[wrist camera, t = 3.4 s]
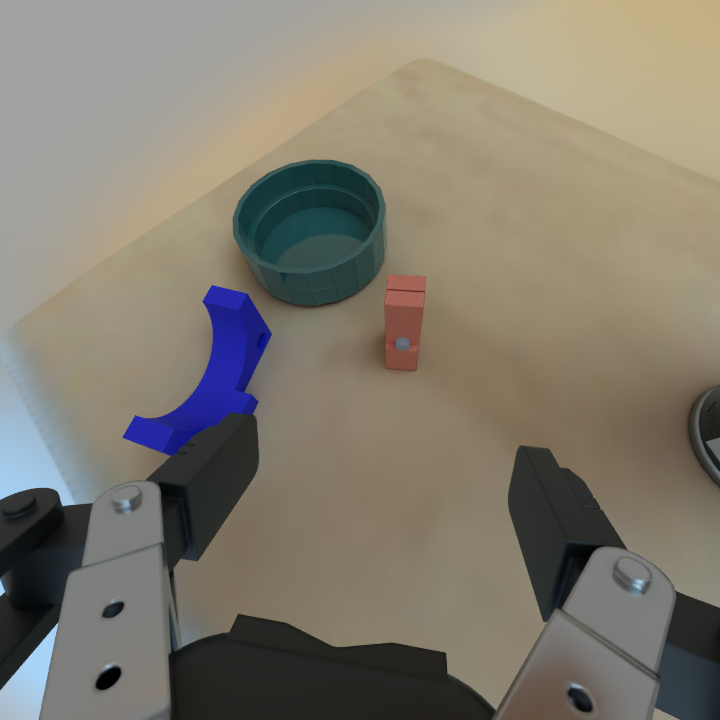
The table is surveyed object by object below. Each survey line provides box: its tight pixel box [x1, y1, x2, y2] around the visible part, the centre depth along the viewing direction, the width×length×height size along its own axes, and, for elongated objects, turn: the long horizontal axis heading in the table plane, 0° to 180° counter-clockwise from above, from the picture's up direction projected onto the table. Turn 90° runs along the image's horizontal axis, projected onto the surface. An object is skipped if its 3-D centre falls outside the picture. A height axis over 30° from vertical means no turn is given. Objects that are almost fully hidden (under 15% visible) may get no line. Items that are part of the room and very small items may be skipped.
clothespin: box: [384, 275, 426, 371], centre depth 27 cm, size 2×3×8 cm
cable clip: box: [122, 285, 272, 456], centre depth 28 cm, size 12×4×6 cm, turn 162°
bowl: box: [233, 160, 387, 306], centre depth 34 cm, size 13×13×5 cm
